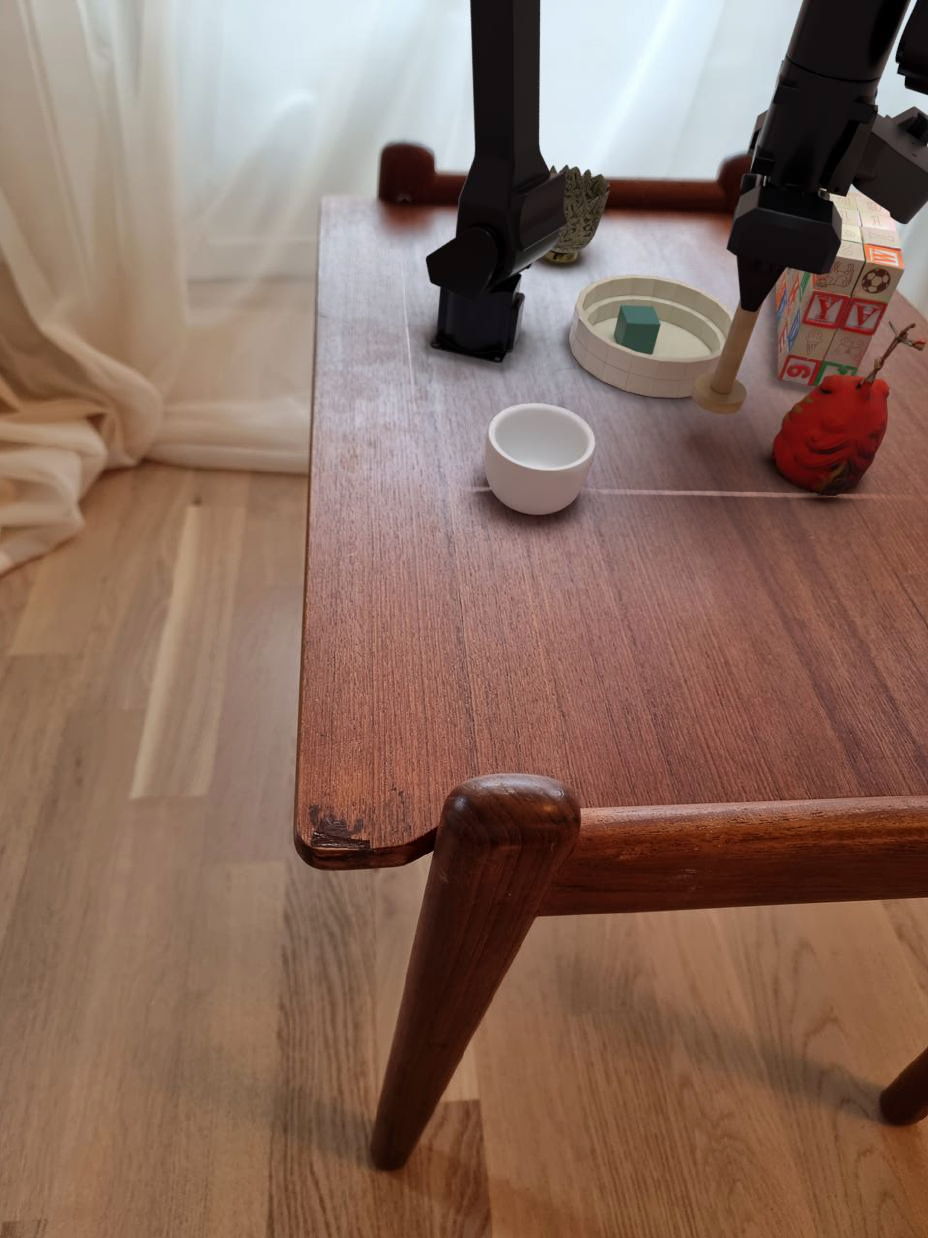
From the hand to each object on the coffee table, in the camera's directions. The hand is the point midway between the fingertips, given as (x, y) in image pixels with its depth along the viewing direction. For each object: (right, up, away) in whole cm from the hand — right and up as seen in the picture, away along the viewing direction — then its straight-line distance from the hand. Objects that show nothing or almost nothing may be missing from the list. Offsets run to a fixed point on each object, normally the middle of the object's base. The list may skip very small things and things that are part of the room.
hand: (749, 303), depth 69 cm
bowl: (-4, +1, +18) cm, 18 cm away
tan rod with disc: (-1, -5, +6) cm, 8 cm away
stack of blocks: (+12, +5, +24) cm, 28 cm away
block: (-5, +2, +18) cm, 19 cm away
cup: (-11, +13, +29) cm, 34 cm away
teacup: (-15, -13, +4) cm, 20 cm away
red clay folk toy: (+8, -11, +8) cm, 16 cm away
